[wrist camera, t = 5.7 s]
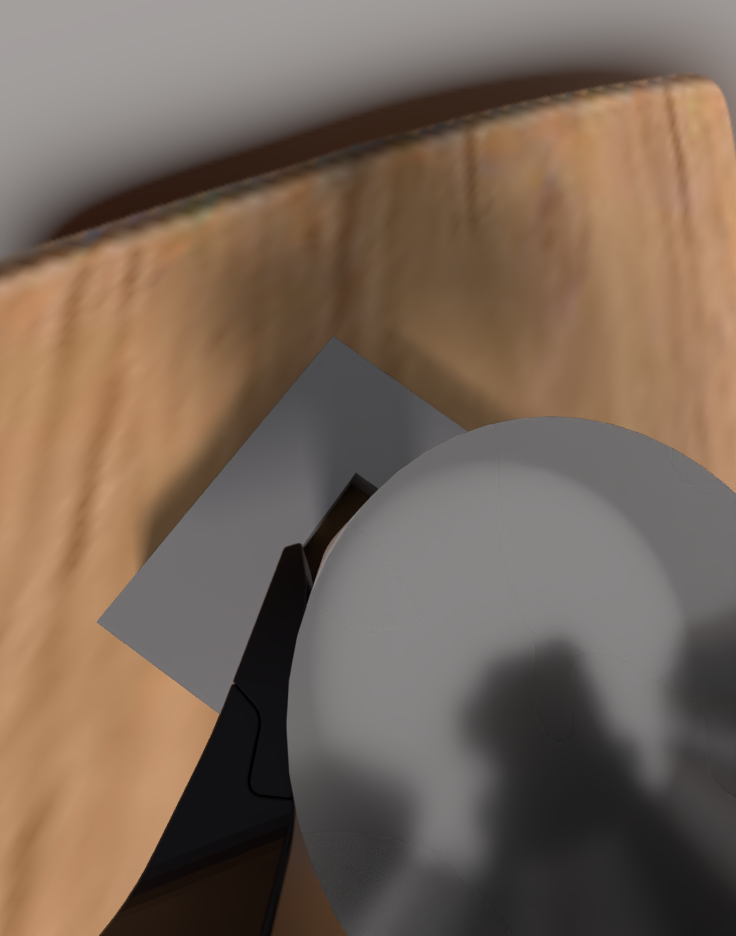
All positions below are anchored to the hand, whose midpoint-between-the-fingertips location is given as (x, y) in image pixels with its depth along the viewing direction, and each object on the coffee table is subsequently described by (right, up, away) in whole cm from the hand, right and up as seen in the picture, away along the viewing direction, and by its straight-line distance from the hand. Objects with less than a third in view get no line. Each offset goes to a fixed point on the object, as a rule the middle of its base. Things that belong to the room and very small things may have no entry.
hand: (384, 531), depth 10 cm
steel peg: (0, -3, +7) cm, 7 cm away
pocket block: (-1, -3, +8) cm, 9 cm away
